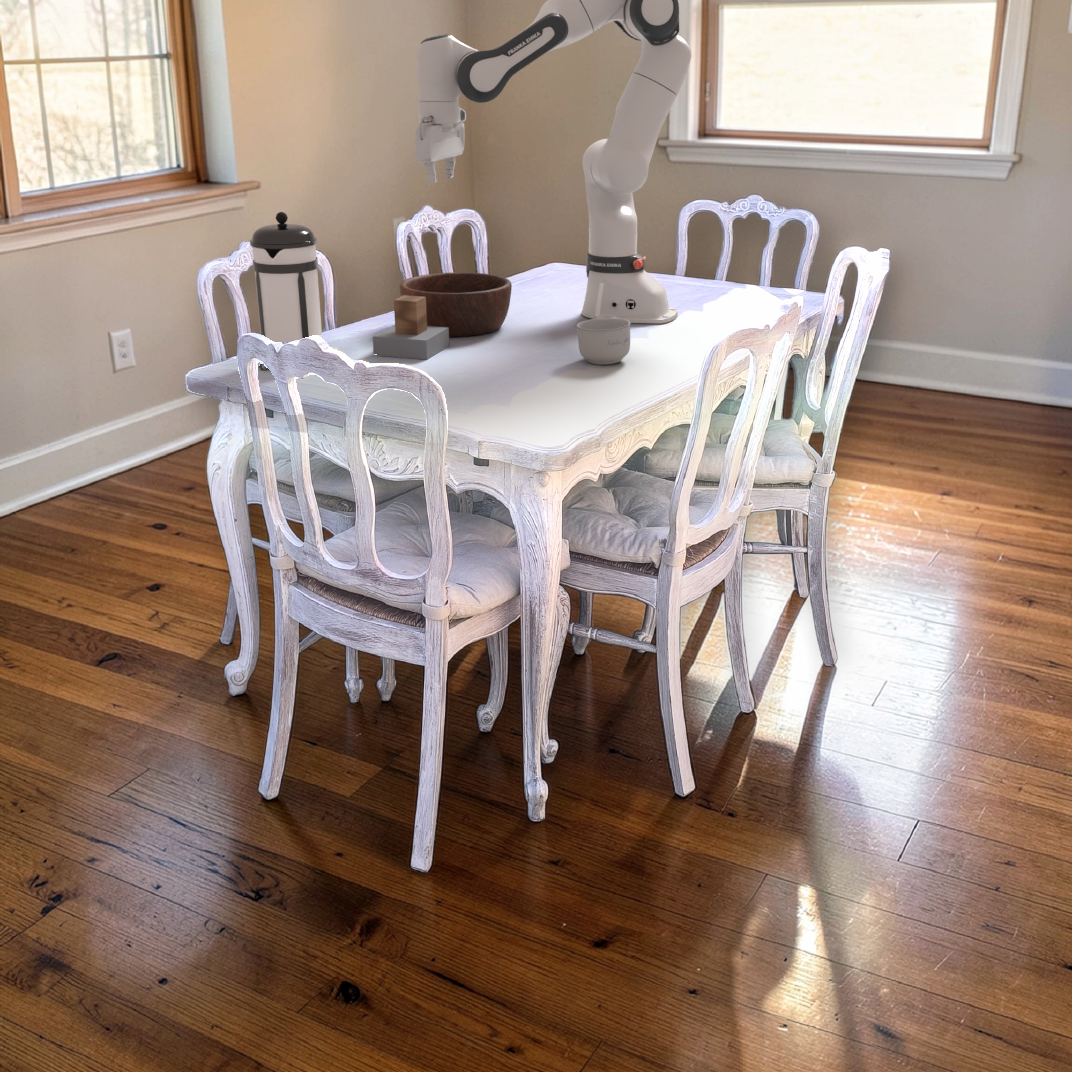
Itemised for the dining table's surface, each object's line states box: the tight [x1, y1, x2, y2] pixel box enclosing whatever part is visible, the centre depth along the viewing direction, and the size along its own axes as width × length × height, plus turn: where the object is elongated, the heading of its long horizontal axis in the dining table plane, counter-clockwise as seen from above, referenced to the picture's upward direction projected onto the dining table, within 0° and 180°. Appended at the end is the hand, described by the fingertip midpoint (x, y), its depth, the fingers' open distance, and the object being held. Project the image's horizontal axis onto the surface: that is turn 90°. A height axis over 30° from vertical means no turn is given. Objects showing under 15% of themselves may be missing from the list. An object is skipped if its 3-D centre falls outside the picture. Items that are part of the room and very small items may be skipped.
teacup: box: [576, 317, 632, 366], centre depth 246 cm, size 14×11×8 cm
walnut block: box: [393, 295, 427, 335], centre depth 252 cm, size 5×5×7 cm
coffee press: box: [249, 211, 323, 371], centre depth 240 cm, size 17×16×30 cm
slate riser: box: [372, 324, 450, 361], centre depth 254 cm, size 12×12×4 cm
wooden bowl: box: [399, 271, 513, 338], centre depth 273 cm, size 25×25×10 cm
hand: (440, 180), depth 271 cm, fingers open, 8 cm apart
